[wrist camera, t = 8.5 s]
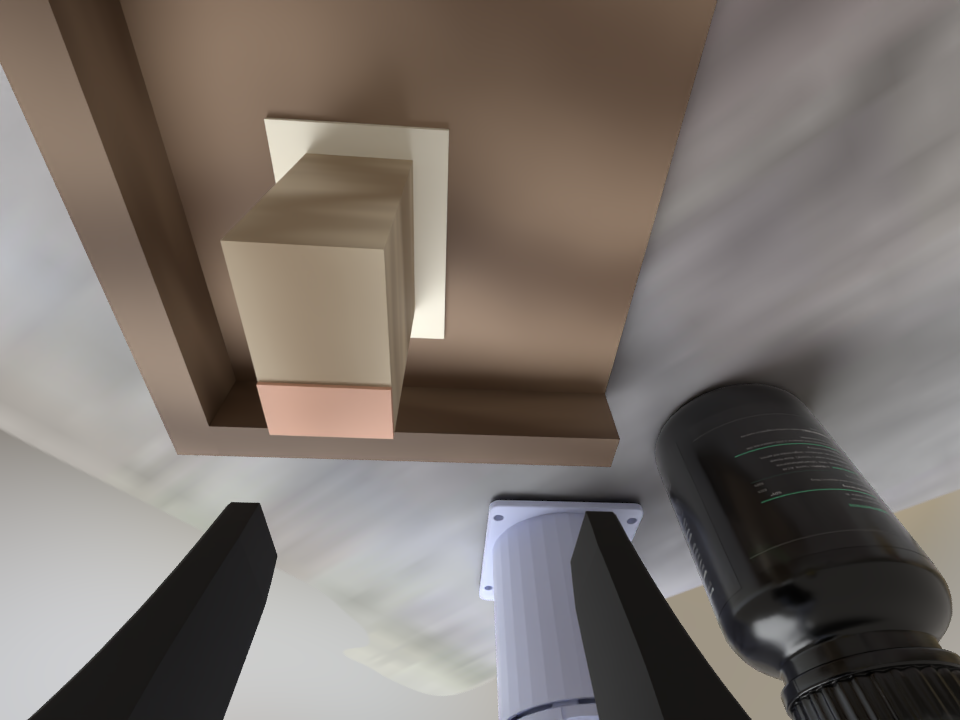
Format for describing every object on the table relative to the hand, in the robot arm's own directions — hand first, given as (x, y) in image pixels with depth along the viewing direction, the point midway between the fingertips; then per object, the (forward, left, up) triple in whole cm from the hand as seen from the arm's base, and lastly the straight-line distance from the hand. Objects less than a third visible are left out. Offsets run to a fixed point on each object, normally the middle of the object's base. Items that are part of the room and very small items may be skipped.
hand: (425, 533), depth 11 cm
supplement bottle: (-6, -13, -10) cm, 17 cm away
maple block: (+3, +2, -8) cm, 9 cm away
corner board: (+3, +1, -9) cm, 10 cm away
